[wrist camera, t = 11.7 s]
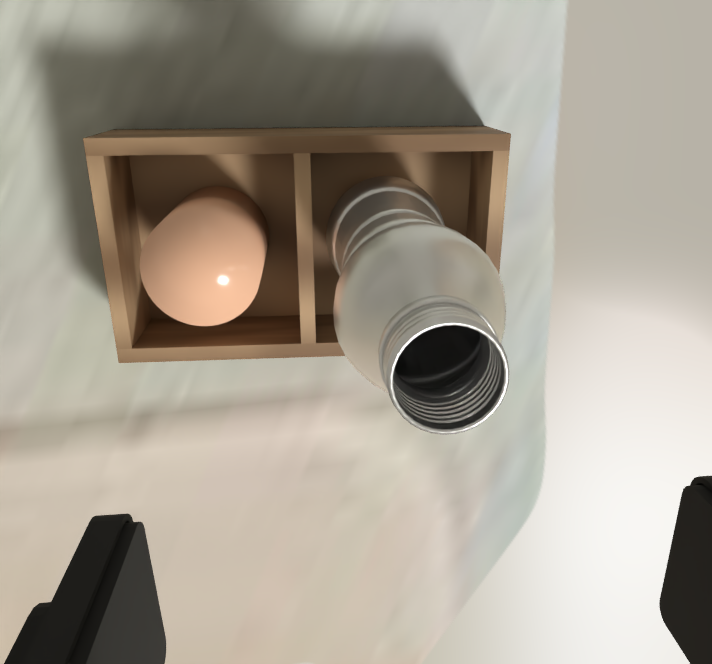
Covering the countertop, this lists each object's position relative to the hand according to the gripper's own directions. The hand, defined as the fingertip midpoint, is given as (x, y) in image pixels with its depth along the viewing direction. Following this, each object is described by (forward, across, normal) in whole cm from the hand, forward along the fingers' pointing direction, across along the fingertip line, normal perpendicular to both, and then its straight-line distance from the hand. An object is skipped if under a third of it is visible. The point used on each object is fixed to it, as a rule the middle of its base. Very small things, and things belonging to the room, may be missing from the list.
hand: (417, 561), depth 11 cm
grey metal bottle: (+28, -2, +1) cm, 28 cm away
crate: (+28, +2, +1) cm, 28 cm away
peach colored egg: (+28, +7, +1) cm, 29 cm away
